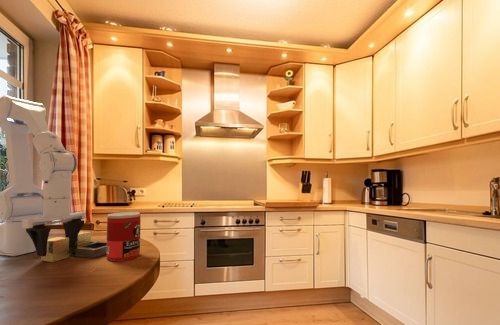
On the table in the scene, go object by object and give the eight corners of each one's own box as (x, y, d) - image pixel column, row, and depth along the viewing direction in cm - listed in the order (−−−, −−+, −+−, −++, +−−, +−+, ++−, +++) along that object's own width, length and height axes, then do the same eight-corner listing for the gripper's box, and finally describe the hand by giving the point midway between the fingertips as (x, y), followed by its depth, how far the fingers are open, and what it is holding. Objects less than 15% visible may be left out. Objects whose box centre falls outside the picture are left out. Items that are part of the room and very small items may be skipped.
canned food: (127, 262, 62) (128, 216, 63) (98, 260, 63) (99, 215, 64) (146, 253, 69) (146, 212, 70) (120, 252, 71) (120, 211, 72)
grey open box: (54, 254, 70) (55, 235, 70) (81, 246, 77) (82, 229, 78) (93, 258, 66) (94, 238, 66) (118, 249, 73) (119, 232, 73)
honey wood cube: (40, 260, 64) (41, 240, 65) (57, 256, 68) (58, 236, 68) (52, 262, 63) (53, 241, 63) (68, 257, 67) (69, 237, 67)
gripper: (37, 200, 59) (35, 262, 58) (94, 196, 72) (93, 245, 72) (16, 200, 61) (14, 259, 60) (75, 196, 75) (74, 244, 74)
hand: (56, 252), depth 66 cm, fingers open, 6 cm apart
